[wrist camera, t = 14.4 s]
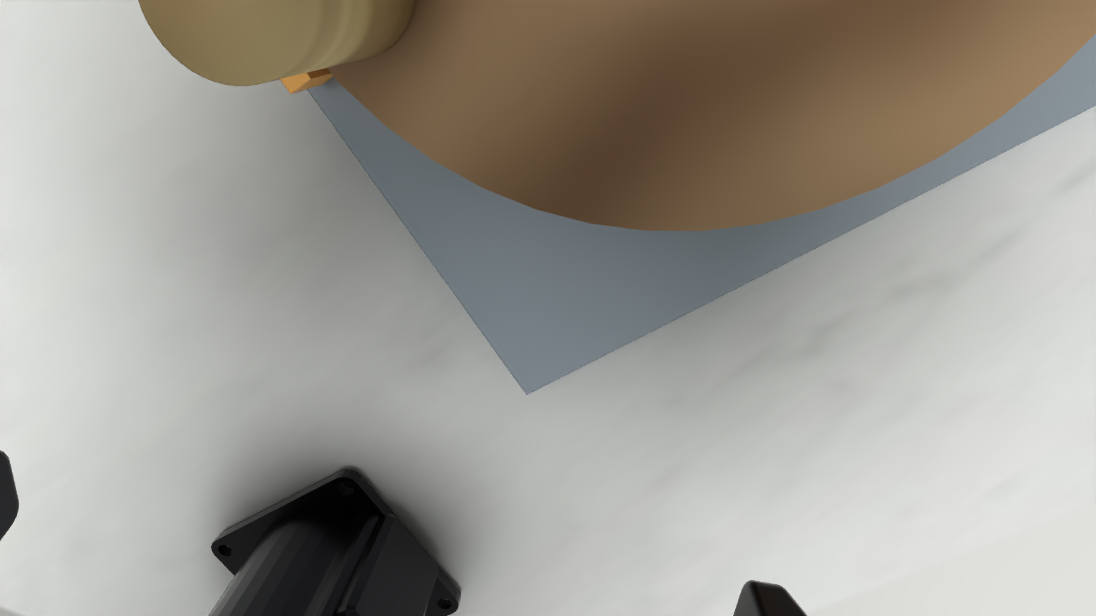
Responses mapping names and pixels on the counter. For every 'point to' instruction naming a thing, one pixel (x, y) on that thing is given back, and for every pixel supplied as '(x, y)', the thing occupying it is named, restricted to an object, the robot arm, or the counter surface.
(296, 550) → the robot arm
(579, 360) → the base plate
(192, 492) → the counter surface
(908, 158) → the cam dial
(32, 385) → the counter surface
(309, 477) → the counter surface
